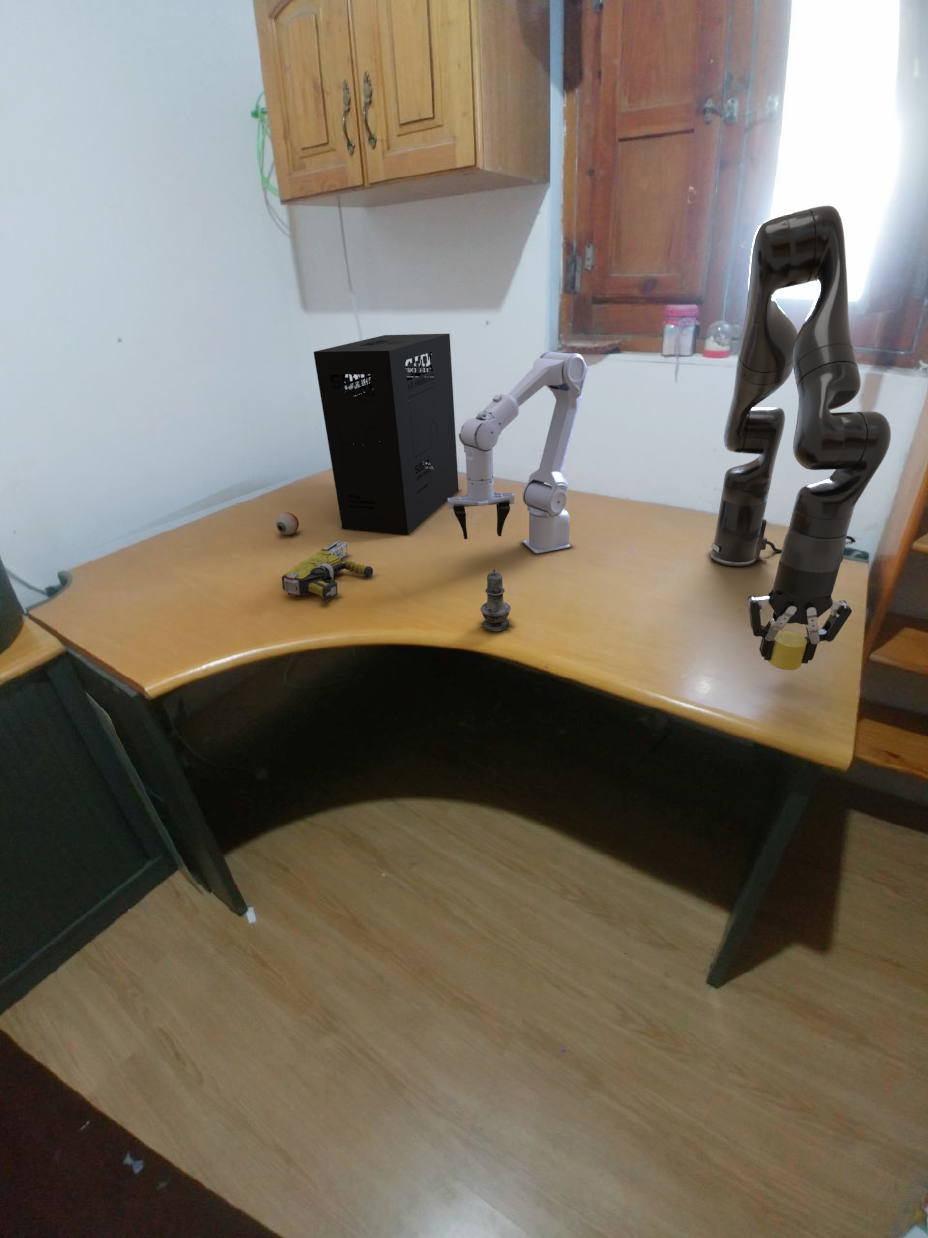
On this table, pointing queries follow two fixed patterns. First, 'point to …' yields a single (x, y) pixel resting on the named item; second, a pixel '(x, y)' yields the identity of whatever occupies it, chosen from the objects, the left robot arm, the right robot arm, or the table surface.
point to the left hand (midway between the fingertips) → (482, 536)
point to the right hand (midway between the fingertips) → (784, 658)
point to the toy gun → (321, 572)
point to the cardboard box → (390, 429)
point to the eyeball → (287, 523)
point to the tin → (788, 650)
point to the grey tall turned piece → (495, 604)
